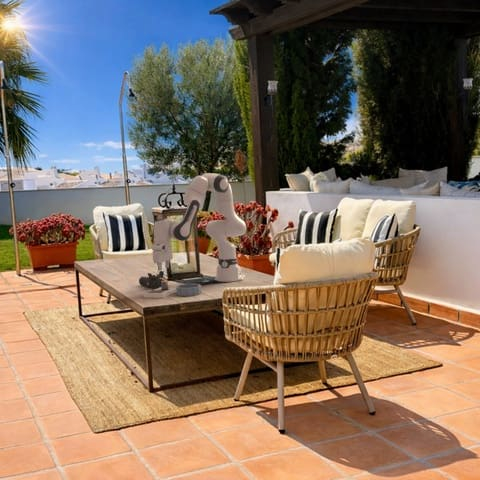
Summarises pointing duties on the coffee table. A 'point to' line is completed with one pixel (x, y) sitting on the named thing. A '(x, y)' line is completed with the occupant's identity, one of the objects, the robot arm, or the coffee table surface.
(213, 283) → the coffee table surface
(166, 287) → the cell
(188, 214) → the robot arm
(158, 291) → the cradle
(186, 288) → the blue-gray round bowl
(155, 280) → the laser sight
